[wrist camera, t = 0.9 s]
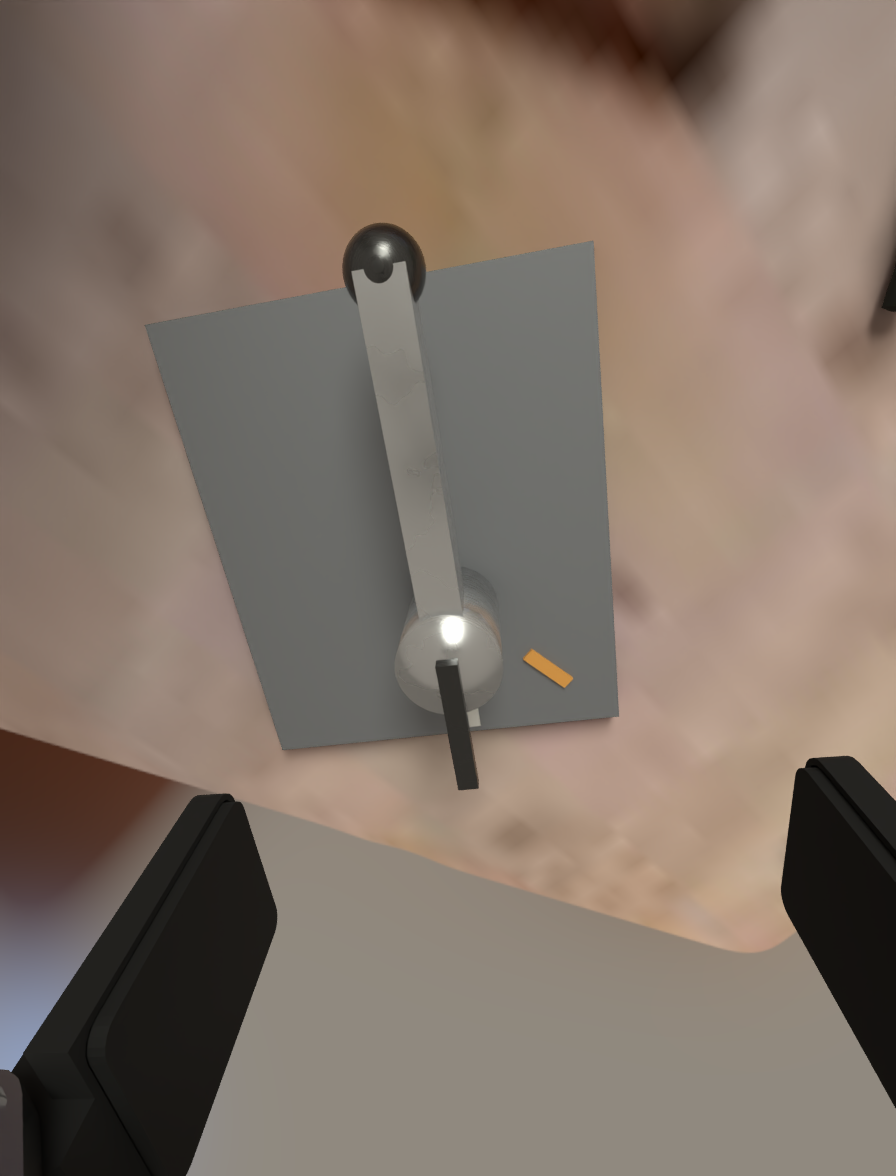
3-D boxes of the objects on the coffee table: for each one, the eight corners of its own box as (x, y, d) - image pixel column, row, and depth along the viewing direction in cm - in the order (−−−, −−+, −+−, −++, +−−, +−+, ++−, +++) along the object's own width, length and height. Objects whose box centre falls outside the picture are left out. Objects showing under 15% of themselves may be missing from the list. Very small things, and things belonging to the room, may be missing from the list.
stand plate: (160, 326, 29) (142, 324, 28) (587, 246, 27) (594, 239, 25) (289, 736, 39) (281, 752, 37) (613, 702, 36) (619, 718, 35)
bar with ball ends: (341, 258, 26) (291, 221, 19) (448, 238, 25) (437, 191, 18) (430, 706, 35) (418, 793, 28) (511, 697, 34) (519, 784, 27)
